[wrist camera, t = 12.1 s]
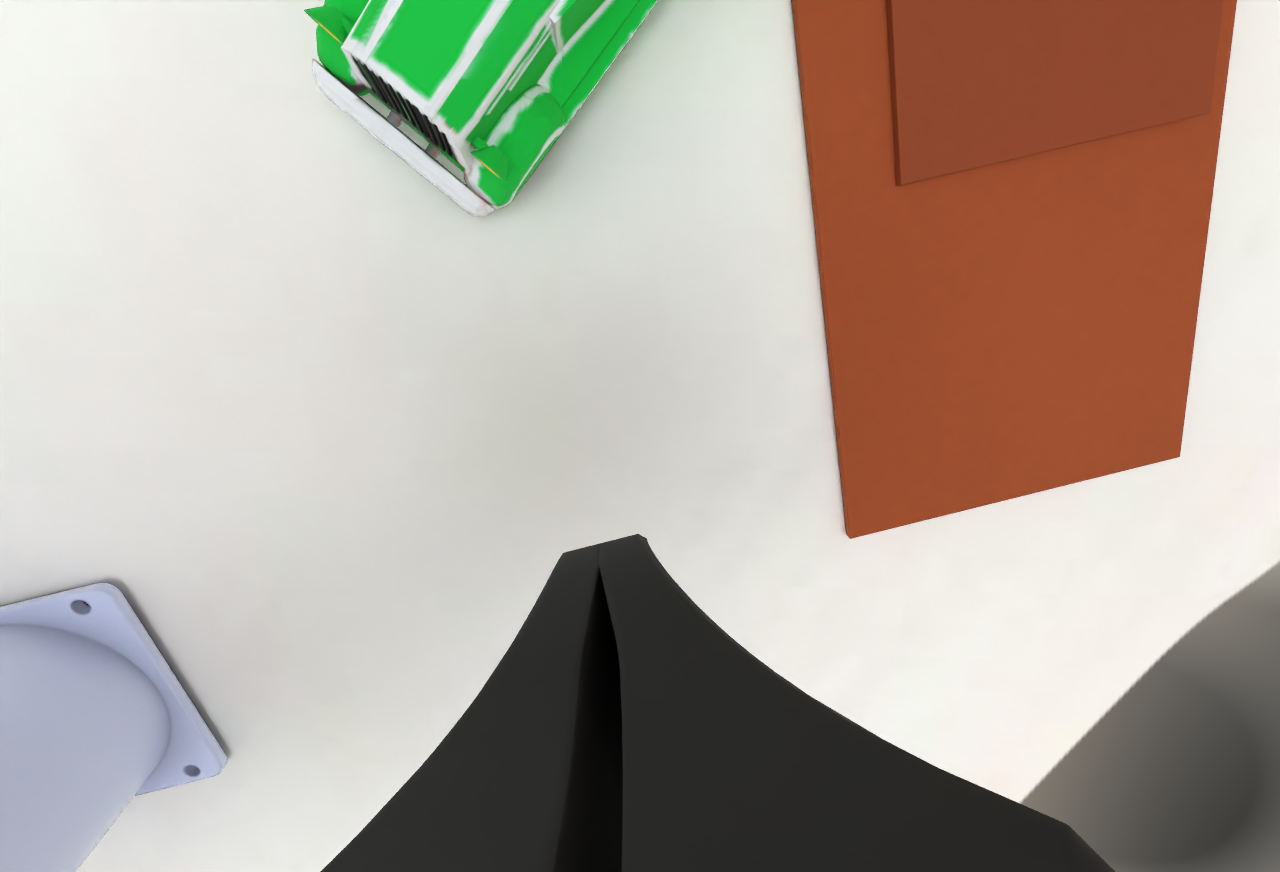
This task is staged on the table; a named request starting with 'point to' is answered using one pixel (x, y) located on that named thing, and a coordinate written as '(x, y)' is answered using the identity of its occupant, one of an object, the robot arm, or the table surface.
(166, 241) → the table surface
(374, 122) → the toy car
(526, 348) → the table surface
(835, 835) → the robot arm
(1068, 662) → the table surface
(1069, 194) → the rust cloth
